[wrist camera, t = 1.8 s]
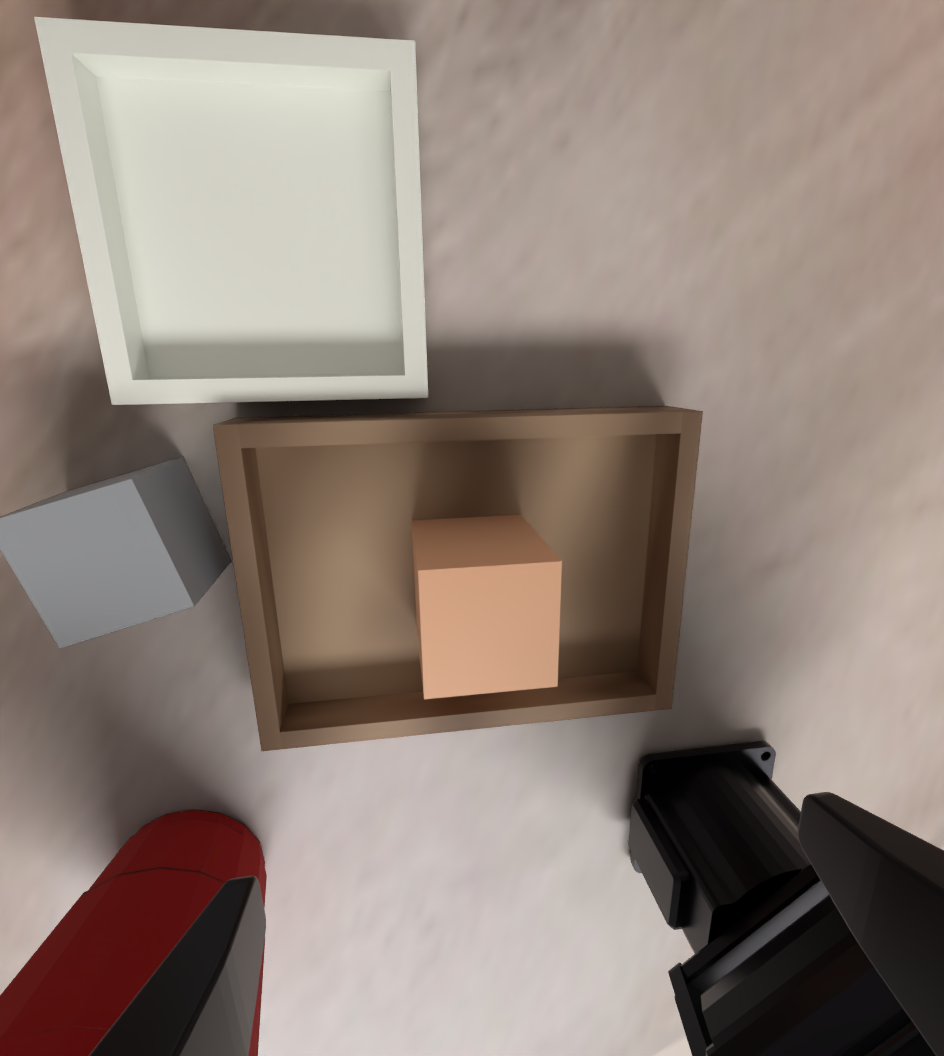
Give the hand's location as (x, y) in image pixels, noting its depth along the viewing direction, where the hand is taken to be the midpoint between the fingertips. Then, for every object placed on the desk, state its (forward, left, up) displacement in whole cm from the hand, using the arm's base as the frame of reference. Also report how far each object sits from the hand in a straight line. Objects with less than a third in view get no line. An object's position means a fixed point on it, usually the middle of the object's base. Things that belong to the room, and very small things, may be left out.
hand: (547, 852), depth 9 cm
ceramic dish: (+6, -11, -13) cm, 18 cm away
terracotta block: (0, 0, -12) cm, 12 cm away
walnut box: (0, 0, -13) cm, 13 cm away
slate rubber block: (+11, -2, -13) cm, 17 cm away
